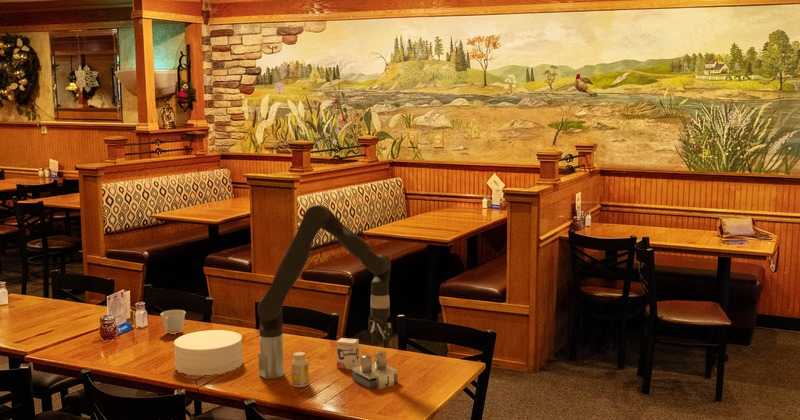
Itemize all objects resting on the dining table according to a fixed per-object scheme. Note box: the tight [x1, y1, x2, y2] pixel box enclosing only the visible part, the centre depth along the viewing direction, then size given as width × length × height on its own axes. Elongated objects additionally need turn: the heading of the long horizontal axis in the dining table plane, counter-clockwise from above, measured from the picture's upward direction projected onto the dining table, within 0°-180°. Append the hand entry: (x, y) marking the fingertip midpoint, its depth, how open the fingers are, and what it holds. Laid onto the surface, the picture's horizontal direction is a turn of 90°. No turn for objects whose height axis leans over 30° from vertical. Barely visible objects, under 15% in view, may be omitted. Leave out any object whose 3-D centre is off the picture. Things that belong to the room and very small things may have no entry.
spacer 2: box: [374, 350, 387, 369], centre depth 337 cm, size 4×4×6 cm
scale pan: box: [352, 362, 398, 379], centre depth 335 cm, size 13×13×2 cm
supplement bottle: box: [290, 351, 310, 388], centre depth 332 cm, size 7×7×13 cm
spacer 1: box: [359, 354, 373, 373], centre depth 333 cm, size 4×4×6 cm
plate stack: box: [173, 329, 244, 376], centre depth 358 cm, size 28×28×12 cm
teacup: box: [160, 309, 187, 333], centre depth 405 cm, size 12×15×10 cm
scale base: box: [351, 371, 399, 390], centre depth 335 cm, size 13×15×5 cm
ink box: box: [336, 337, 360, 370], centre depth 352 cm, size 8×5×12 cm, turn 73°
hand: (380, 344), depth 335 cm, fingers open, 8 cm apart
